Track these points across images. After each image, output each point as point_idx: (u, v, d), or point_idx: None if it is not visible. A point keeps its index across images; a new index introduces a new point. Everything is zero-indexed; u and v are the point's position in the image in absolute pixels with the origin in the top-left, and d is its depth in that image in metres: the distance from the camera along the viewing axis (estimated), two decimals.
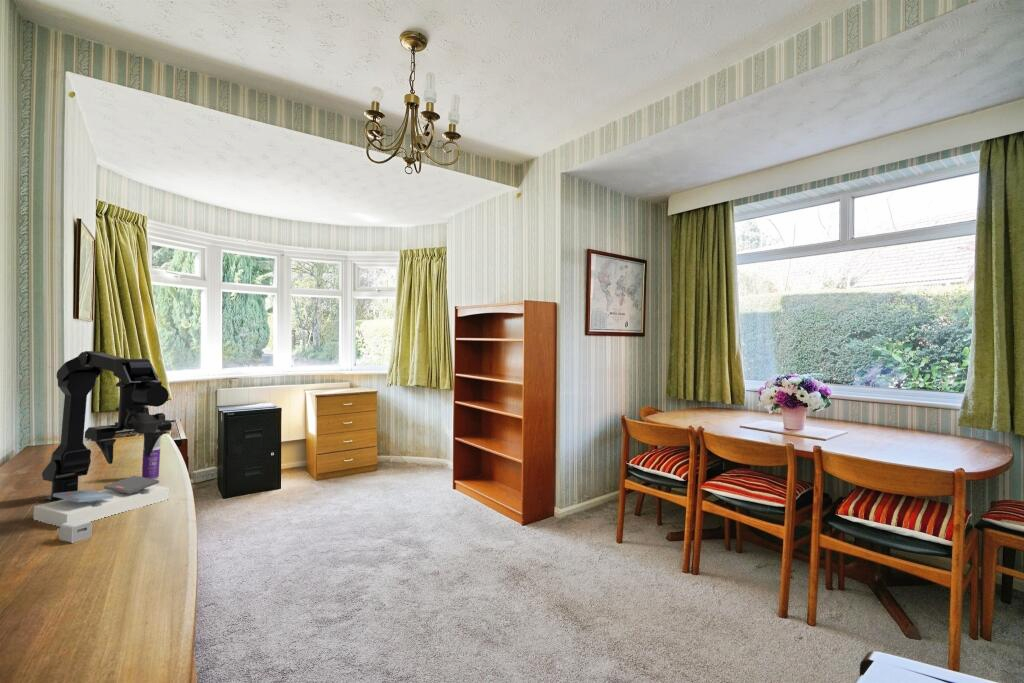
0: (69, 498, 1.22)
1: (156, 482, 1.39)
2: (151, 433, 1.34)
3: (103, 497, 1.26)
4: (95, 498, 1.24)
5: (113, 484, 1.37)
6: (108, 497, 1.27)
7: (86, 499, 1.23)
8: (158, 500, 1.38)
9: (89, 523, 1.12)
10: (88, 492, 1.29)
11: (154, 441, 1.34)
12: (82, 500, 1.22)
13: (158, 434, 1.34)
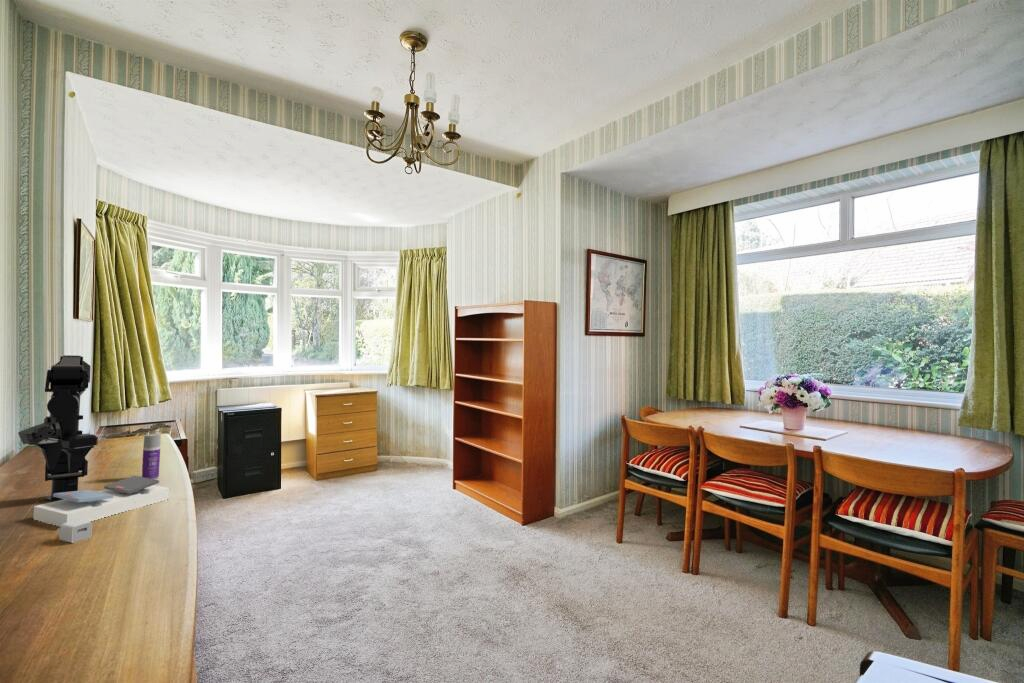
0: (69, 498, 1.22)
1: (156, 482, 1.39)
2: None
3: (103, 497, 1.26)
4: (95, 498, 1.24)
5: (113, 484, 1.37)
6: (108, 497, 1.27)
7: (86, 499, 1.23)
8: (158, 500, 1.38)
9: (89, 523, 1.12)
10: (88, 492, 1.29)
11: (68, 457, 1.22)
12: (82, 500, 1.22)
13: (63, 450, 1.20)
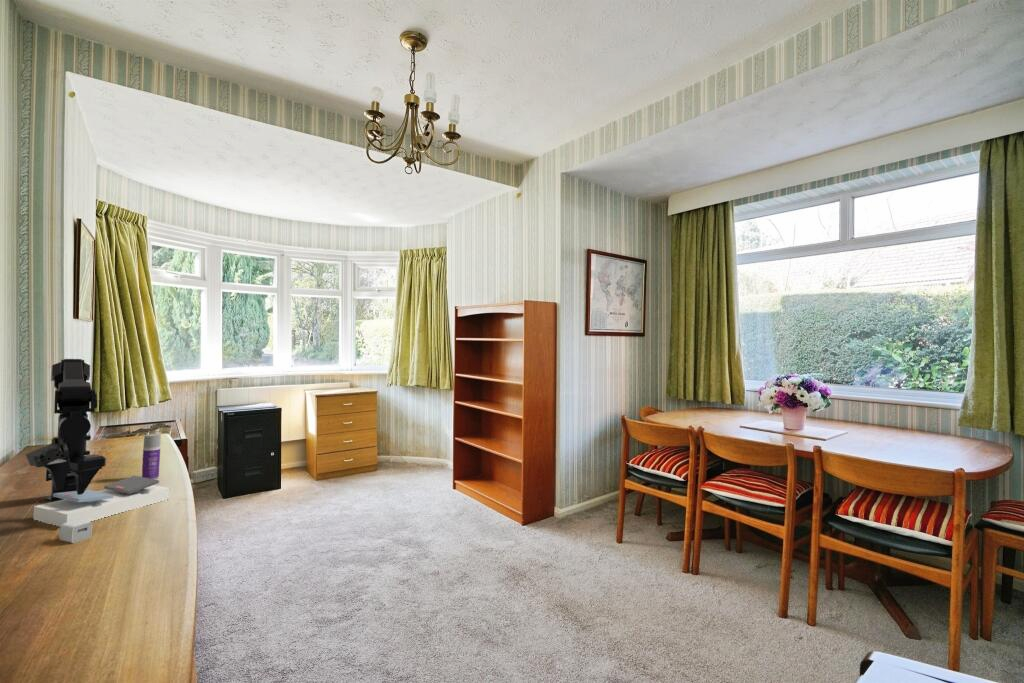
0: (69, 498, 1.22)
1: (156, 482, 1.39)
2: None
3: (103, 497, 1.26)
4: (95, 498, 1.24)
5: (113, 484, 1.37)
6: (108, 497, 1.27)
7: (86, 499, 1.23)
8: (158, 500, 1.38)
9: (89, 523, 1.12)
10: (88, 492, 1.29)
11: (76, 479, 1.20)
12: (82, 500, 1.22)
13: (71, 472, 1.19)
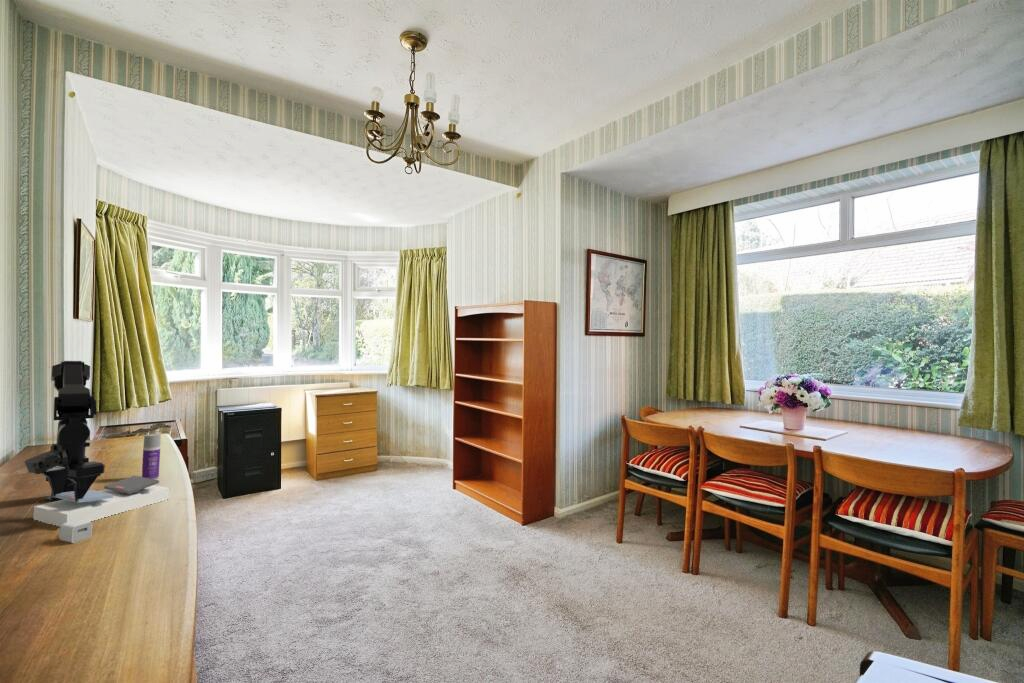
0: (69, 498, 1.22)
1: (156, 482, 1.39)
2: None
3: (103, 497, 1.26)
4: (95, 498, 1.24)
5: (113, 484, 1.37)
6: (108, 497, 1.27)
7: (86, 499, 1.22)
8: (158, 500, 1.38)
9: (89, 523, 1.12)
10: (88, 492, 1.29)
11: (75, 486, 1.20)
12: (82, 500, 1.22)
13: (70, 479, 1.19)
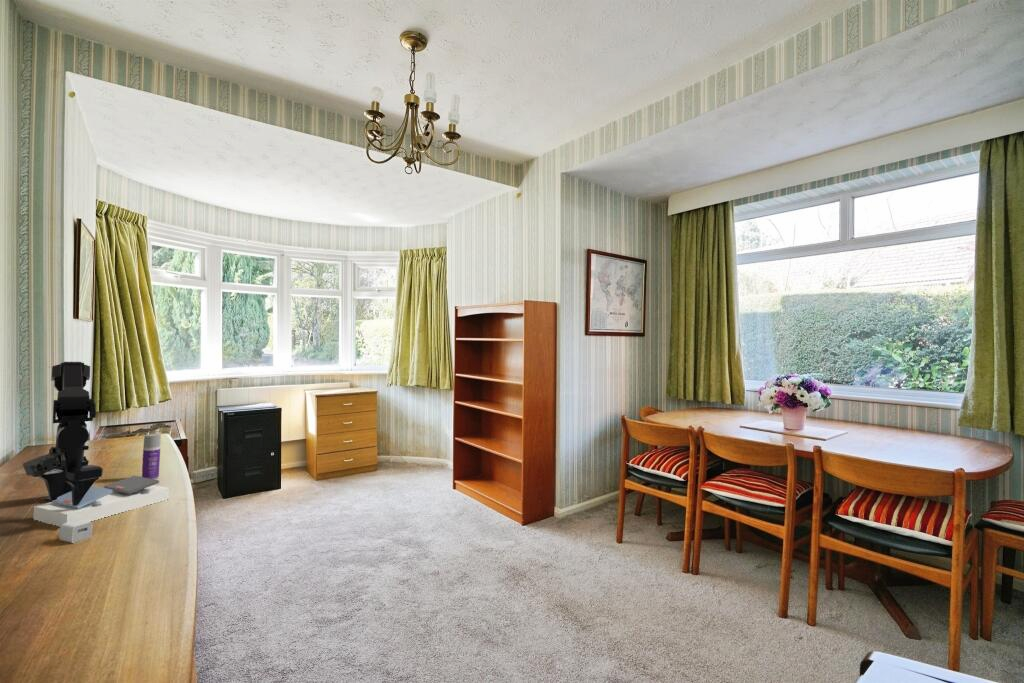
0: (68, 504, 1.22)
1: (156, 482, 1.39)
2: None
3: (102, 495, 1.26)
4: (94, 499, 1.24)
5: (113, 484, 1.37)
6: (107, 493, 1.27)
7: (85, 503, 1.22)
8: (158, 500, 1.38)
9: (89, 523, 1.12)
10: None
11: (73, 489, 1.20)
12: (81, 505, 1.22)
13: (68, 482, 1.19)
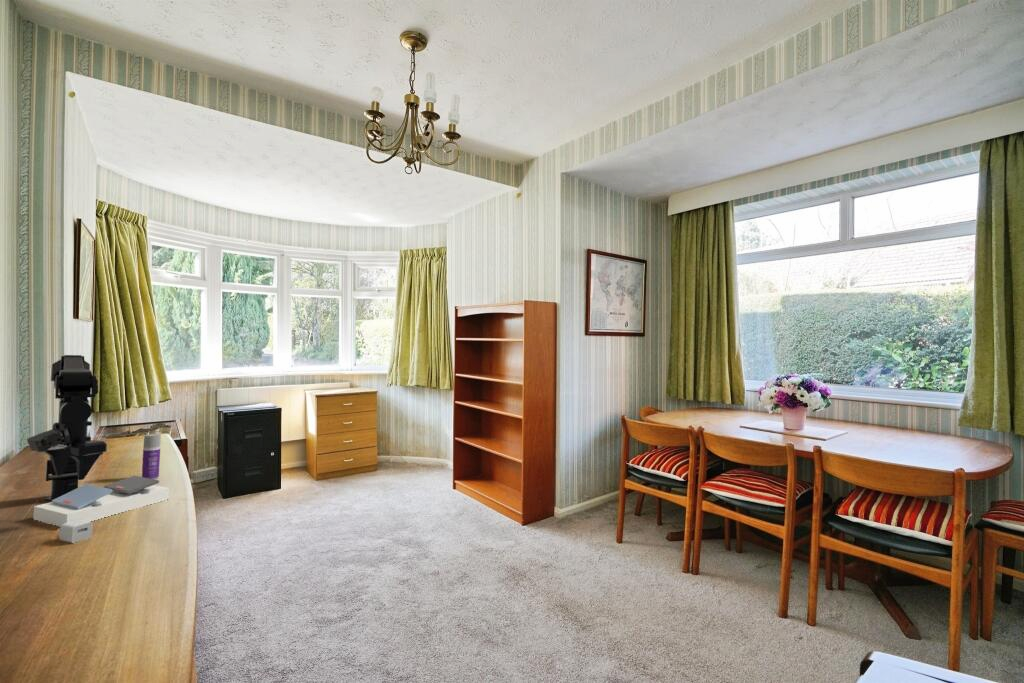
0: (68, 505, 1.22)
1: (156, 482, 1.39)
2: None
3: (102, 495, 1.26)
4: (94, 499, 1.24)
5: (113, 484, 1.37)
6: (107, 493, 1.27)
7: (85, 503, 1.22)
8: (158, 500, 1.38)
9: (90, 523, 1.12)
10: (86, 490, 1.28)
11: (77, 464, 1.21)
12: (81, 506, 1.22)
13: (72, 457, 1.19)
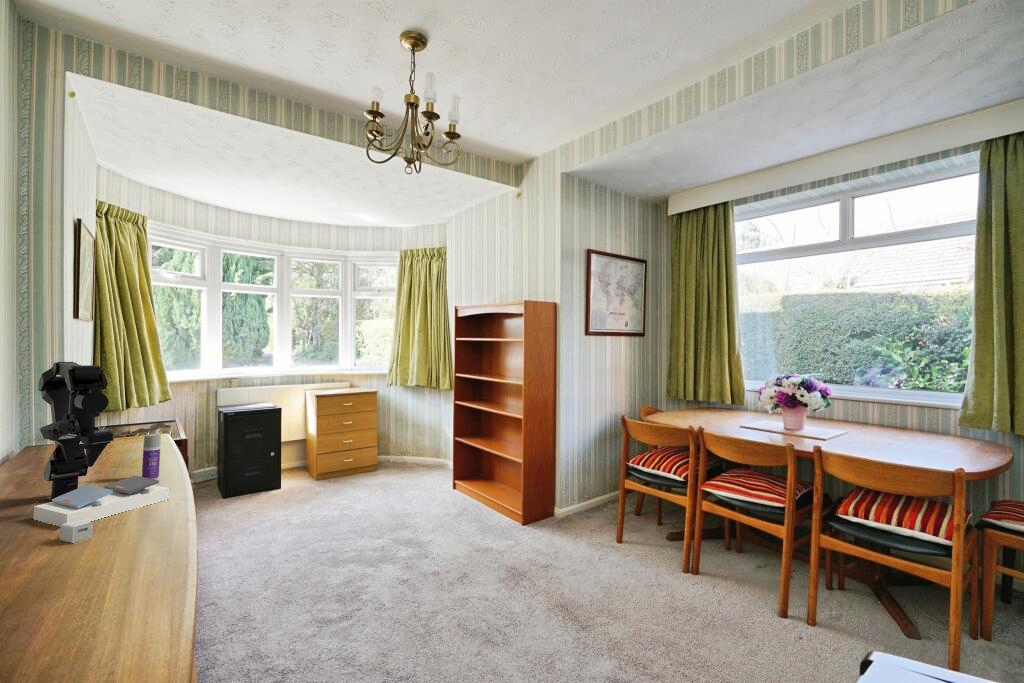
0: (68, 504, 1.22)
1: (156, 482, 1.39)
2: None
3: (102, 495, 1.26)
4: (94, 499, 1.24)
5: (113, 484, 1.37)
6: (107, 493, 1.27)
7: (85, 503, 1.22)
8: (158, 500, 1.38)
9: (90, 523, 1.12)
10: (86, 490, 1.29)
11: (87, 452, 1.29)
12: (81, 505, 1.22)
13: (82, 445, 1.28)
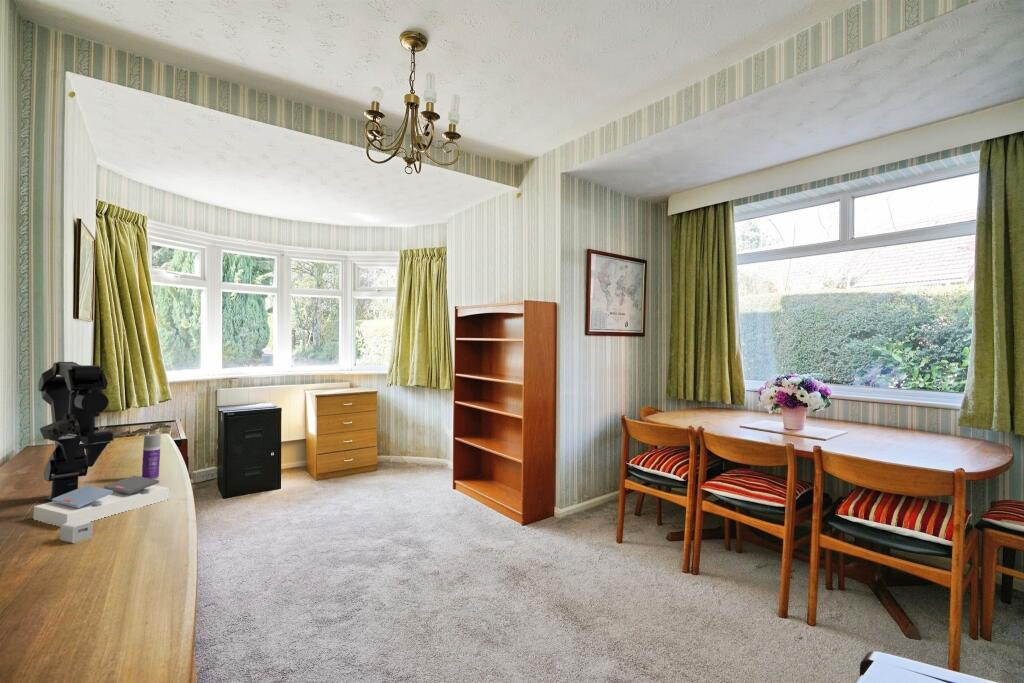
0: (68, 504, 1.22)
1: (156, 482, 1.39)
2: None
3: (102, 495, 1.26)
4: (94, 499, 1.24)
5: (113, 484, 1.37)
6: (107, 494, 1.27)
7: (85, 502, 1.22)
8: (158, 500, 1.38)
9: (90, 523, 1.12)
10: (87, 490, 1.29)
11: (87, 452, 1.29)
12: (81, 505, 1.22)
13: (82, 445, 1.28)
